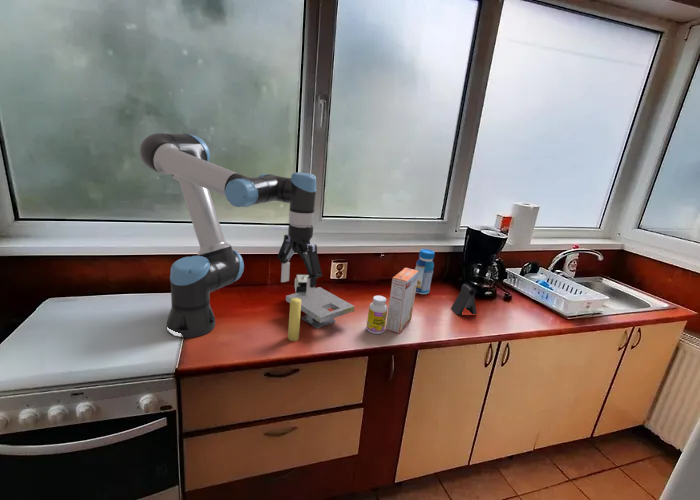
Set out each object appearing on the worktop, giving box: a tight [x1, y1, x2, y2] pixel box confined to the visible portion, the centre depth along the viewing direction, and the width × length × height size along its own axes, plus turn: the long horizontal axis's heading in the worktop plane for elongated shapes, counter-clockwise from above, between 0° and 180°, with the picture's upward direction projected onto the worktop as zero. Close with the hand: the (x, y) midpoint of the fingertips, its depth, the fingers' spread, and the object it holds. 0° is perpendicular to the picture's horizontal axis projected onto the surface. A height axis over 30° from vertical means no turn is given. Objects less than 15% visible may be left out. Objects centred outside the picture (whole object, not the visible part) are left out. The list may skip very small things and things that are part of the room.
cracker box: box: [385, 267, 419, 334], centre depth 142 cm, size 14×6×21 cm, turn 152°
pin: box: [287, 298, 302, 342], centre depth 125 cm, size 4×4×14 cm
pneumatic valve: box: [294, 273, 309, 293], centre depth 151 cm, size 6×12×12 cm, turn 12°
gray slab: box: [285, 286, 355, 330], centre depth 140 cm, size 16×20×8 cm
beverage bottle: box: [414, 248, 436, 295], centre depth 176 cm, size 8×8×20 cm
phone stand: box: [450, 283, 478, 316], centre depth 160 cm, size 9×6×12 cm, turn 103°
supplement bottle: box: [366, 295, 389, 335], centre depth 137 cm, size 7×7×13 cm
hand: (297, 288), depth 122 cm, fingers open, 13 cm apart
